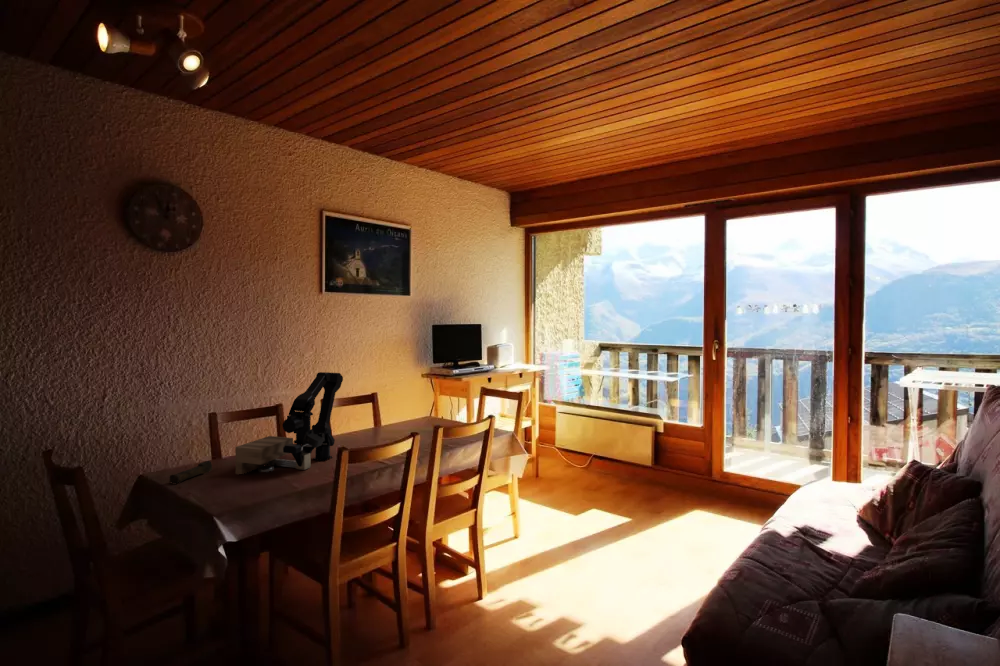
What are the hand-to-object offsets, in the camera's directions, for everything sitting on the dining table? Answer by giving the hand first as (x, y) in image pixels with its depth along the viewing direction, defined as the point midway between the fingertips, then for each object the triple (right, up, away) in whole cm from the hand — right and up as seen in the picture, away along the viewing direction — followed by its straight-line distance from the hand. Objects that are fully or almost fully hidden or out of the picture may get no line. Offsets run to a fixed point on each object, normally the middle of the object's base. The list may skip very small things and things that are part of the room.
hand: (303, 464), depth 225 cm
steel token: (-14, -2, -3) cm, 15 cm away
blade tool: (-7, -1, +2) cm, 8 cm away
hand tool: (-39, -2, -12) cm, 41 cm away
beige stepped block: (-16, -2, 0) cm, 16 cm away
